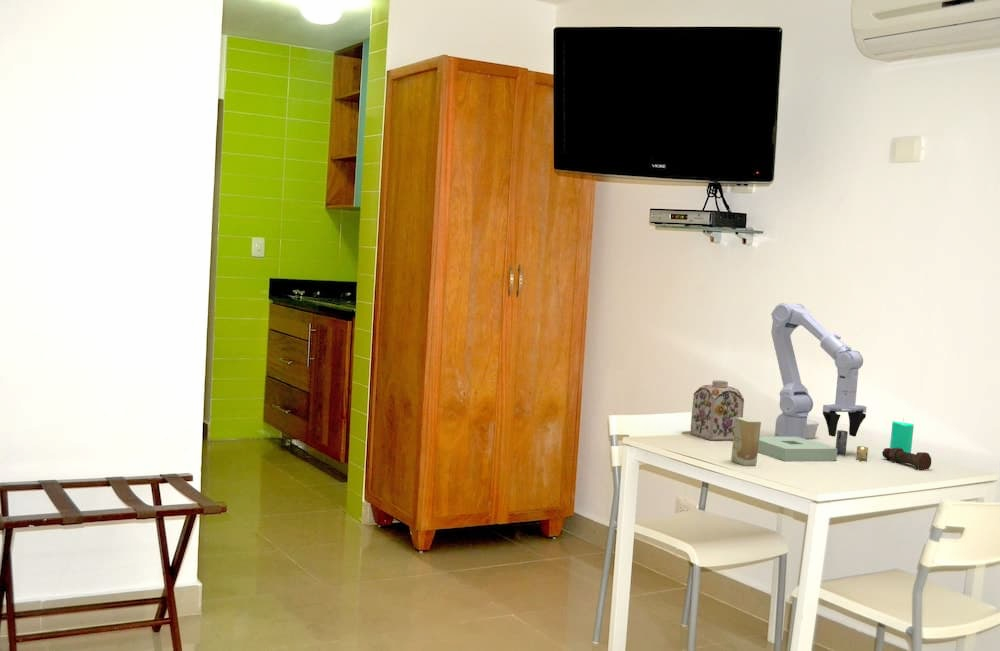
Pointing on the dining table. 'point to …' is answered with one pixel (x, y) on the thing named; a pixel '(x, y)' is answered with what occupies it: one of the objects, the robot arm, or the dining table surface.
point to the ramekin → (811, 429)
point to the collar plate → (796, 449)
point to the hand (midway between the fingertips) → (842, 435)
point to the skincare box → (746, 441)
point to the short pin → (862, 453)
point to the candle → (902, 436)
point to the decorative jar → (716, 411)
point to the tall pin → (841, 442)
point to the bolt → (908, 457)
